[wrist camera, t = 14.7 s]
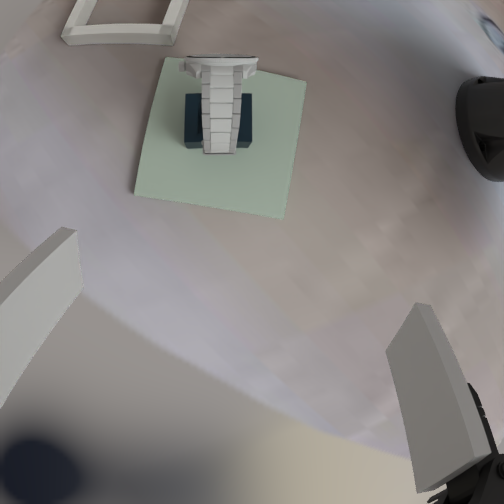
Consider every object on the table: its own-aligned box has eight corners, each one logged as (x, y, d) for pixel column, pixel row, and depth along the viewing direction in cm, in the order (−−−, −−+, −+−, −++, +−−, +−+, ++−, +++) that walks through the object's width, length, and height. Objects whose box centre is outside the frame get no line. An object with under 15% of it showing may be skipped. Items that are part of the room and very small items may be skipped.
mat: (304, 84, 27) (306, 82, 27) (281, 219, 29) (283, 219, 29) (166, 60, 25) (165, 56, 25) (135, 195, 27) (133, 195, 27)
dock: (198, -22, 24) (197, -34, 21) (173, 46, 25) (170, 34, 23) (100, -21, 22) (95, -32, 19) (68, 45, 23) (60, 36, 21)
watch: (247, 85, 26) (268, 28, 15) (248, 166, 27) (270, 146, 17) (187, 85, 25) (176, 27, 15) (185, 167, 27) (169, 147, 16)
